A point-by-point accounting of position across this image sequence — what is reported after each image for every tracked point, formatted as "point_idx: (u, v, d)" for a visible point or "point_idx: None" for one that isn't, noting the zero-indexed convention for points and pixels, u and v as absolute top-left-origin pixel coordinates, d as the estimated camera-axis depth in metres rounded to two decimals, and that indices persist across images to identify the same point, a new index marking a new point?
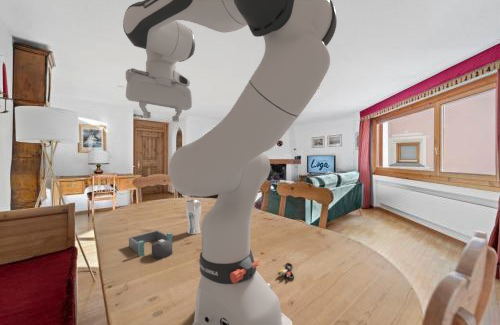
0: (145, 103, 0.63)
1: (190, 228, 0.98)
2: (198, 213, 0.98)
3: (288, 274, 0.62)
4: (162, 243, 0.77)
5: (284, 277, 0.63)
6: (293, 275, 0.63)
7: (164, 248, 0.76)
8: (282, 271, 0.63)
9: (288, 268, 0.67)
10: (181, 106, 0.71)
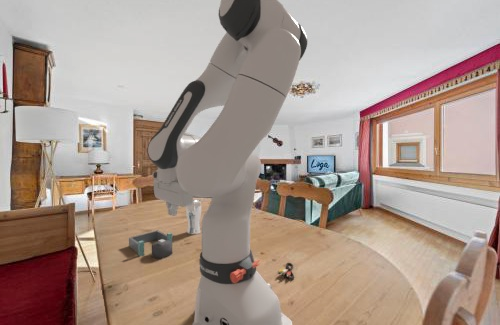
0: None
1: (190, 228, 0.98)
2: (198, 213, 0.98)
3: (288, 274, 0.62)
4: (162, 243, 0.77)
5: (284, 277, 0.63)
6: (293, 275, 0.63)
7: (164, 248, 0.76)
8: (282, 271, 0.63)
9: (288, 268, 0.67)
10: None
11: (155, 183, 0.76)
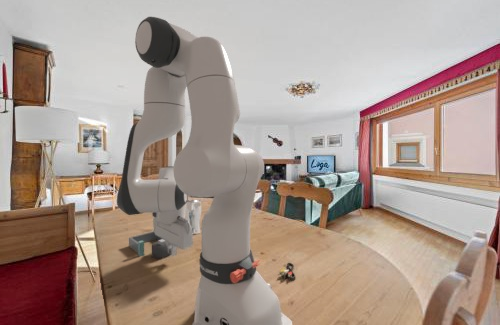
0: None
1: None
2: (198, 213, 0.98)
3: (289, 274, 0.62)
4: (162, 243, 0.77)
5: (285, 277, 0.63)
6: (294, 275, 0.63)
7: (164, 248, 0.76)
8: (283, 271, 0.63)
9: (289, 268, 0.67)
10: None
11: (154, 221, 0.76)
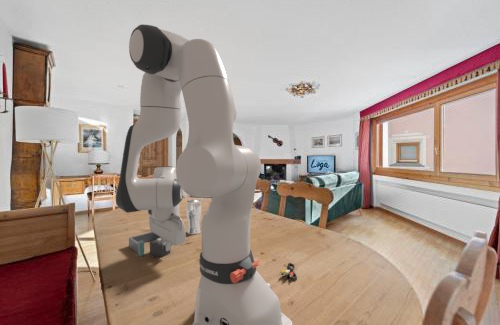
0: None
1: (190, 228, 0.98)
2: (198, 213, 0.98)
3: (291, 274, 0.62)
4: (160, 242, 0.78)
5: (287, 277, 0.63)
6: None
7: (162, 246, 0.77)
8: (285, 271, 0.63)
9: (290, 268, 0.67)
10: None
11: (150, 218, 0.79)
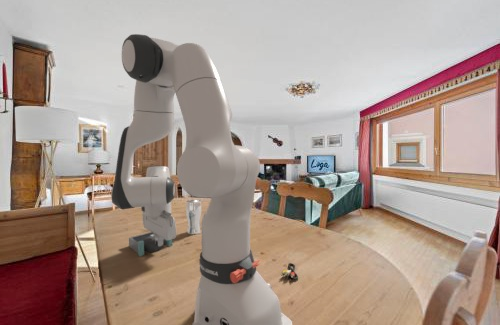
0: None
1: (190, 228, 0.98)
2: (198, 213, 0.98)
3: (292, 275, 0.62)
4: (153, 237, 0.82)
5: (288, 278, 0.63)
6: None
7: None
8: (286, 272, 0.63)
9: (291, 268, 0.67)
10: None
11: (143, 215, 0.83)
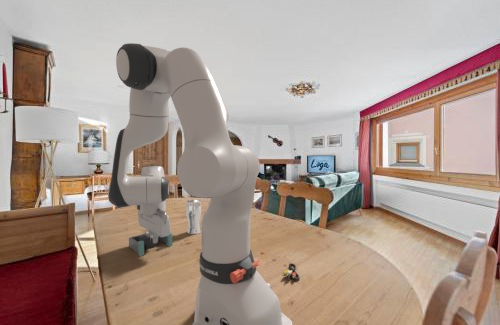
0: None
1: (190, 228, 0.98)
2: (198, 213, 0.98)
3: (294, 275, 0.62)
4: (148, 235, 0.85)
5: (289, 278, 0.63)
6: (298, 276, 0.63)
7: None
8: (287, 272, 0.62)
9: (292, 269, 0.67)
10: None
11: (139, 213, 0.86)
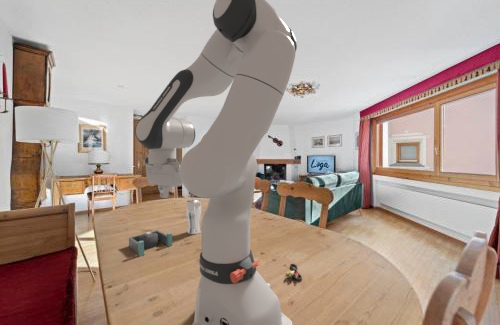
0: None
1: (190, 228, 0.98)
2: (198, 213, 0.98)
3: (296, 275, 0.62)
4: (148, 235, 0.85)
5: (292, 278, 0.62)
6: None
7: (150, 239, 0.83)
8: (290, 273, 0.62)
9: (294, 269, 0.67)
10: None
11: (147, 169, 0.79)
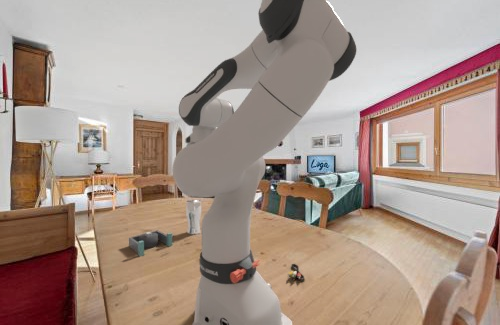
0: None
1: (190, 228, 0.98)
2: (198, 213, 0.98)
3: (299, 276, 0.61)
4: (148, 235, 0.85)
5: None
6: (303, 276, 0.62)
7: (150, 239, 0.83)
8: (293, 273, 0.62)
9: (296, 269, 0.66)
10: None
11: None
